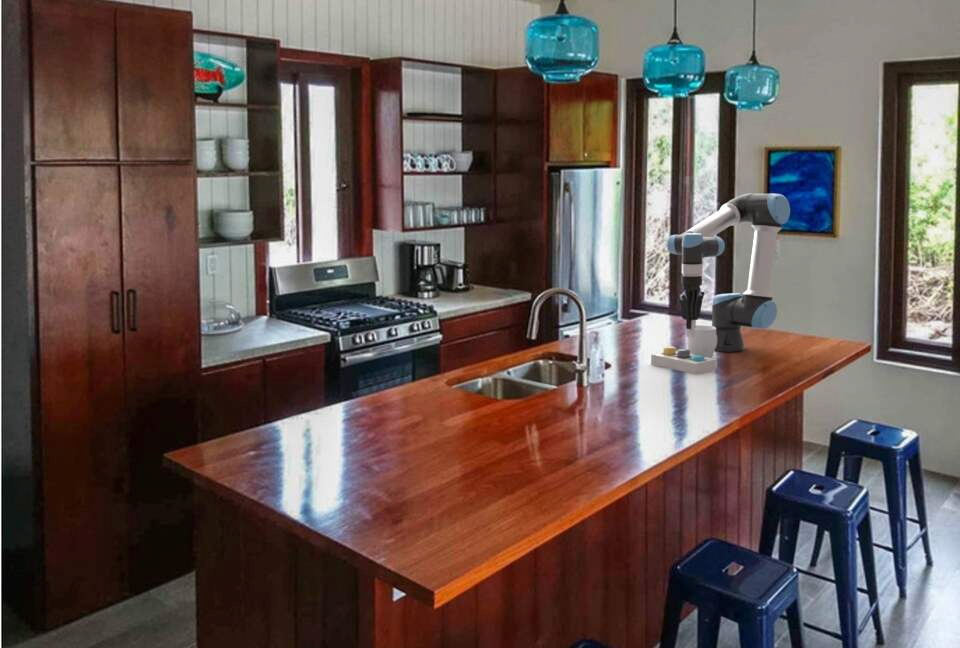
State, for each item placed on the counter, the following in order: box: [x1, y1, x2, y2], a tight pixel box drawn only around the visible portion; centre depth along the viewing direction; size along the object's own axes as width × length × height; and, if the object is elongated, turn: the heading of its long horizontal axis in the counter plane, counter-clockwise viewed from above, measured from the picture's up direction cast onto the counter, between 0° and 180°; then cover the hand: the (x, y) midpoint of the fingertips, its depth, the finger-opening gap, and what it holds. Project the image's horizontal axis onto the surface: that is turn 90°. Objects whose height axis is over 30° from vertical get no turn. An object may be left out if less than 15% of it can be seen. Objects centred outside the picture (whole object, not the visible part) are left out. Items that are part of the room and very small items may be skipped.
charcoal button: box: [676, 348, 690, 359], centre depth 340 cm, size 5×5×4 cm
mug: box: [686, 324, 717, 358], centre depth 352 cm, size 15×11×13 cm
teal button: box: [691, 355, 705, 362], centre depth 334 cm, size 5×5×4 cm
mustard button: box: [662, 345, 677, 356], centre depth 345 cm, size 5×5×4 cm
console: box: [650, 350, 718, 375], centre depth 340 cm, size 12×22×4 cm, turn 36°
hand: (690, 336), depth 336 cm, fingers closed
